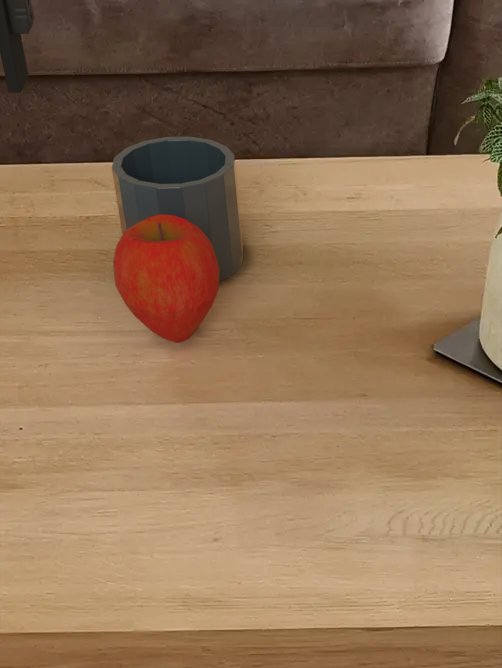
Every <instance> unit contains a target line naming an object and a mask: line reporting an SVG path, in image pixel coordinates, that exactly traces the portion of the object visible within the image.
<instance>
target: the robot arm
mask: <svg viewBox="0 0 502 668" xmlns="http://www.w3.org/2000/svg"><path fill="white" fill-rule="evenodd" d="M34 21H35V15H34V10H33V5H32V0H0V59H1V64H2V67H3V68H2V69H3V73H4V78H5V83H6V87H7V92H8V93H9V94H11V93H22V91H23V89H24V88H25V85H26V83H27V81H28V79H29V77H30V75H29V70H28V64H27V60H26V54H25V49H24V44H23V40H22V35H28V34H29V33H30V32H31V30H32V28H33V24H34Z"/></svg>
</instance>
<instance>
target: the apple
mask: <svg viewBox="0 0 502 668" xmlns="http://www.w3.org/2000/svg"><path fill="white" fill-rule="evenodd" d="M112 260H113V262H112V264H113V265H112V266H113V275H114V285H115V287H116V290H117V292H118V293H119V295H120V297H121V299H122V301H123V302H124V304H125V306H126V307H127V308H128V310H129V311H130V312H131V313H132V315H133V316H134V317H135V318H136V319H137V320H139V321H140V322H141V324H143V325H144V326H145V327H146V328H147V329H148V330H150V331H151V332H152V333H154V334H155V335H157V336H158V337H160V338H161V339H165V340H166V341H169V342H173V343H181V342H185V341H186V340H188V339H190V338H191V336H192V335H193V334H194V333H195V332H196V330H197V329H198V328H199V326H200V325H201V323H203V321H204V319H205V318H206V317H207V315H208V313H209V312H210V310H211V309H212V307H213V305H214V303H215V300H216V297H217V294H218V291H219V287H220V281H219V265H218V262H217V259H216V256H215V252H214V249H213V246H212V243H211V242H210V240H209V239H208V238H207V236H206V235H205V234H204V233H203V232H202V230H201V229H200V228H199V227H198V226H196V225H194V224H193V223H191V222H189V221H188V220H186V219H184V218H180V217H177V216H173V215H160V214H159V215H156V216H153V217H150V218H147V219H145V220H143V221H141V222H139V223H137V224H135V225H134V226H132V227H131V228H129V229H127V230H126V231H124V233H123V234H122V235H121V237H120V238H119V240H118V242H117V243H116V245H115V251H114V255H113V259H112Z"/></svg>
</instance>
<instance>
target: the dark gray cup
mask: <svg viewBox="0 0 502 668" xmlns="http://www.w3.org/2000/svg"><path fill="white" fill-rule="evenodd" d="M111 173H112V178H113V184H114V190H115V196H116V197H115V198H116V203H117V210H118V216H119V222H120V227H121V234H122V235H123V233H124V231H126V230H127V229H129V228H131V227H132V226H134V225H135V224H137V223H139V222H141V221H143V220H145V219H147V218H150V217H153V216H156V215H159V214H160V215H173V216H177V217H180V218H184V219H186V220H188V221H189V222H191V223H193V224H194V225H196V226H198V227H199V228H200V229H201V230H202V232H203V233H204V234H205V235H206V236H207V238H208V239H209V240H210V242H211V243H212V246H213V249H214V252H215V256H216V259H217V262H218V265H219V282H222V281H224V280H226V279H227V278H230V277H231V276H232V275H234V274H235V273H236V272H237V271H238V270H239V269H240V268H241V266H242V264H243V261H244V242H243V233H242V232H243V231H242V230H243V229H242V220H241V209H240V199H239V198H240V197H239V187H238V179H237V178H238V176H237V165H236V156H235V154H234V153H233V152H232V150H231V149H230V148H229V147H228V146H227V145H225V144H222V143H220V142H217V141H215V140H213V139H209V138H208V139H207V138H203V137H202V138H201V137H194V136H164V137H159V138H154V139H147V140H143V141H140V142H138V143H135V144H133V145H130V146H128V147H125V148H124V149H123V150H121V151H120V152H119V153H118V154H117V155H115V156H114V158H113V161H112V165H111Z"/></svg>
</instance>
